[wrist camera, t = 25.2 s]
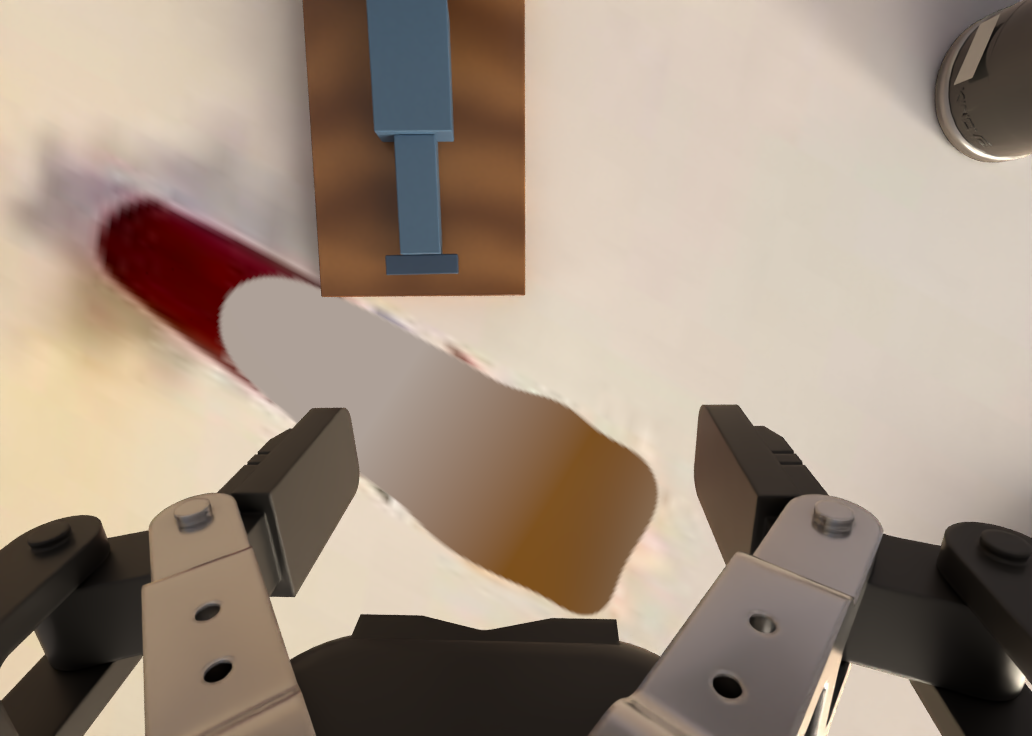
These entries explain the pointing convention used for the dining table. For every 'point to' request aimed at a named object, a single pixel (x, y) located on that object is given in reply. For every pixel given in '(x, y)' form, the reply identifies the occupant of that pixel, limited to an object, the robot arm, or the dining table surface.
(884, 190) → the dining table surface
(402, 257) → the stepped blue block
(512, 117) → the board
